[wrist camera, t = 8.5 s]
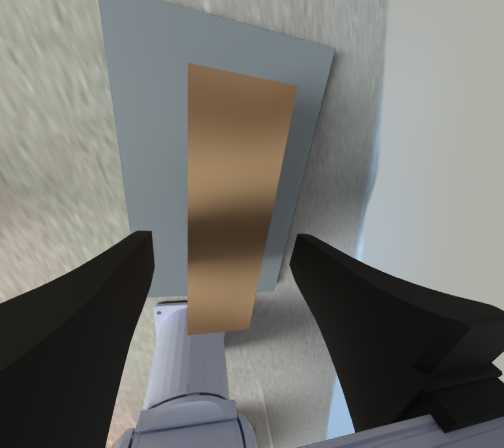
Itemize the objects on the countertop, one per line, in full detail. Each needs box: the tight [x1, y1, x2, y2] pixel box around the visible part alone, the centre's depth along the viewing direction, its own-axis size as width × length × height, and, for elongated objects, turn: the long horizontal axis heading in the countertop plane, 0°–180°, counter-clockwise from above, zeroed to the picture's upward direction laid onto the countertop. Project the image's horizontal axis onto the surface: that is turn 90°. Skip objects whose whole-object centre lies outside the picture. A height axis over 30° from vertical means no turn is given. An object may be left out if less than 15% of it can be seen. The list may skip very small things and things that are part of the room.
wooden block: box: [187, 63, 298, 335], centre depth 13 cm, size 14×4×5 cm, turn 172°
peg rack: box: [98, 0, 335, 297], centre depth 16 cm, size 22×14×4 cm, turn 172°
